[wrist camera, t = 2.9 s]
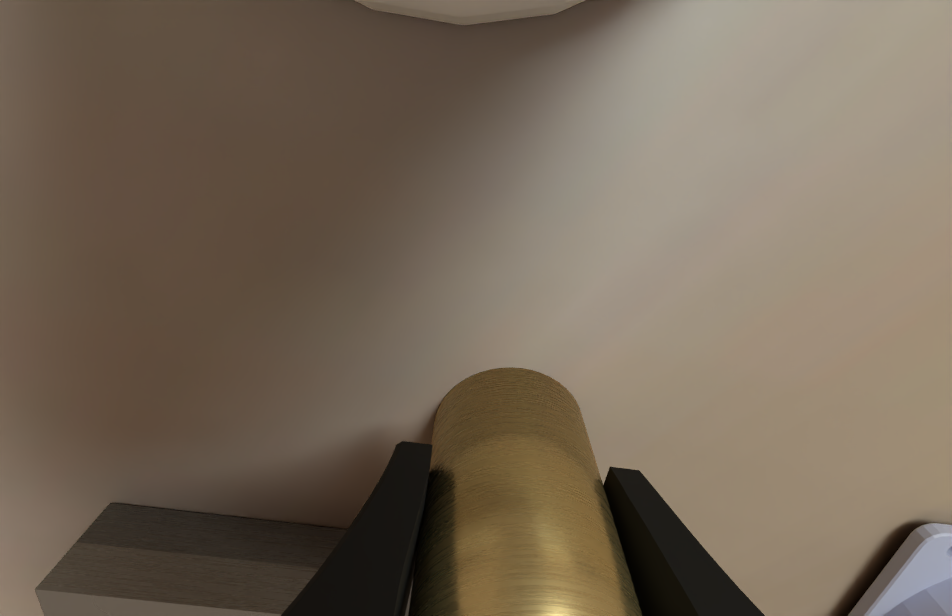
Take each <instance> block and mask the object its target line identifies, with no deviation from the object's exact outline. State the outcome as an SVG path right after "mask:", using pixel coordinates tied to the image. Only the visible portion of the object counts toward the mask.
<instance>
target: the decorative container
mask: <svg viewBox="0 0 952 616" xmlns="http://www.w3.org/2000/svg"><path fill="white" fill-rule="evenodd" d="M354 1H356V2H358V3H360V4H362V5H364V6H366V7H368V8H370V9H372V10H376V11H382V12H388V13H394V14H400V15H405V16H411V17H417V18H423V19H429V20H434V21H440V22H446V23H452V24H458V25H463V26H465V25H473V24H481V23H489V22H497V21H505V20H512V19H520V18H528V17H536V16H544V15H552V14H556V13H559V12H561V11H563V10H565V9H568V8H570V7H572V6H574V5H577V4H579V3H581V2H583V1H586V0H354Z"/></svg>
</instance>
